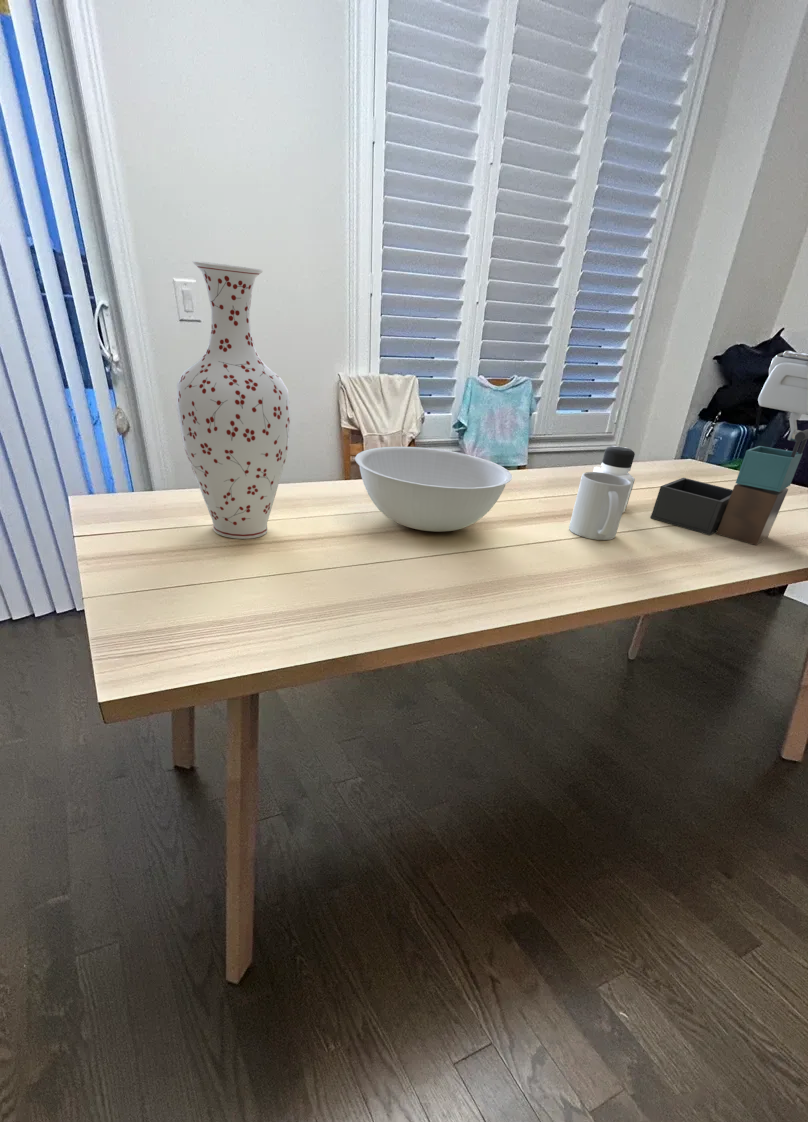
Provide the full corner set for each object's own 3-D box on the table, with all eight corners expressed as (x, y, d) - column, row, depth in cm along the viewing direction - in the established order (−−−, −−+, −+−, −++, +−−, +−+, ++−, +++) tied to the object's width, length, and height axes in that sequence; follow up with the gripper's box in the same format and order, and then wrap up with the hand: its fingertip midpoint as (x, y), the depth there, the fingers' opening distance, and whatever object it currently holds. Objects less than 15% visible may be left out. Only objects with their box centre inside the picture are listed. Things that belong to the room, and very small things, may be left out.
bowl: (323, 507, 116) (324, 450, 110) (436, 495, 131) (442, 443, 125) (414, 559, 99) (421, 494, 94) (532, 538, 114) (544, 481, 108)
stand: (767, 536, 131) (788, 488, 125) (756, 545, 125) (777, 495, 119) (728, 525, 135) (747, 478, 129) (715, 533, 129) (734, 484, 123)
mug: (578, 521, 126) (592, 469, 120) (624, 534, 122) (641, 480, 116) (557, 533, 118) (570, 477, 112) (605, 547, 114) (622, 490, 108)
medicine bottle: (625, 513, 134) (643, 453, 128) (592, 509, 134) (608, 449, 127) (616, 503, 140) (633, 446, 134) (585, 500, 140) (600, 442, 133)
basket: (729, 523, 136) (741, 492, 133) (709, 535, 127) (722, 502, 124) (672, 507, 142) (683, 477, 139) (650, 518, 133) (660, 486, 130)
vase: (310, 529, 106) (315, 275, 86) (248, 556, 94) (237, 266, 74) (233, 507, 111) (221, 263, 91) (165, 530, 99) (133, 253, 79)
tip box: (793, 486, 125) (815, 429, 119) (782, 492, 119) (805, 433, 113) (747, 477, 129) (767, 422, 123) (735, 483, 123) (755, 425, 117)
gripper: (772, 348, 112) (740, 432, 120) (903, 367, 103) (860, 457, 110) (780, 348, 117) (749, 429, 124) (907, 366, 107) (865, 453, 115)
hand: (802, 442), depth 117 cm, fingers closed
